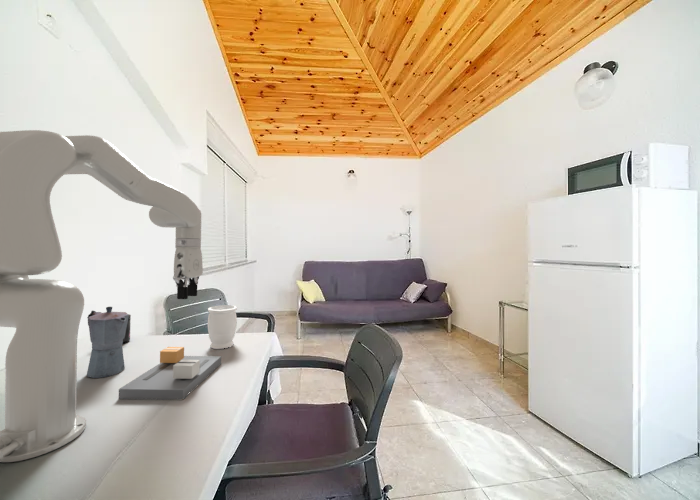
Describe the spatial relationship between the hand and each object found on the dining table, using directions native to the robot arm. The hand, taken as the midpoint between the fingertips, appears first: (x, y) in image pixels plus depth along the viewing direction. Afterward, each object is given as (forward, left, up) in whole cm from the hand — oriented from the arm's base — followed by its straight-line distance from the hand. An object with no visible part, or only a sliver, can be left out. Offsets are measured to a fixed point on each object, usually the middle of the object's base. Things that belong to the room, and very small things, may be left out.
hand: (187, 296), depth 96 cm
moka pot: (-10, +19, -22) cm, 30 cm away
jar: (+14, -6, -22) cm, 26 cm away
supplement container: (+16, +35, -22) cm, 44 cm away
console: (-14, -5, -21) cm, 26 cm away
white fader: (-18, -10, -18) cm, 28 cm away
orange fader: (-8, 0, -18) cm, 20 cm away
